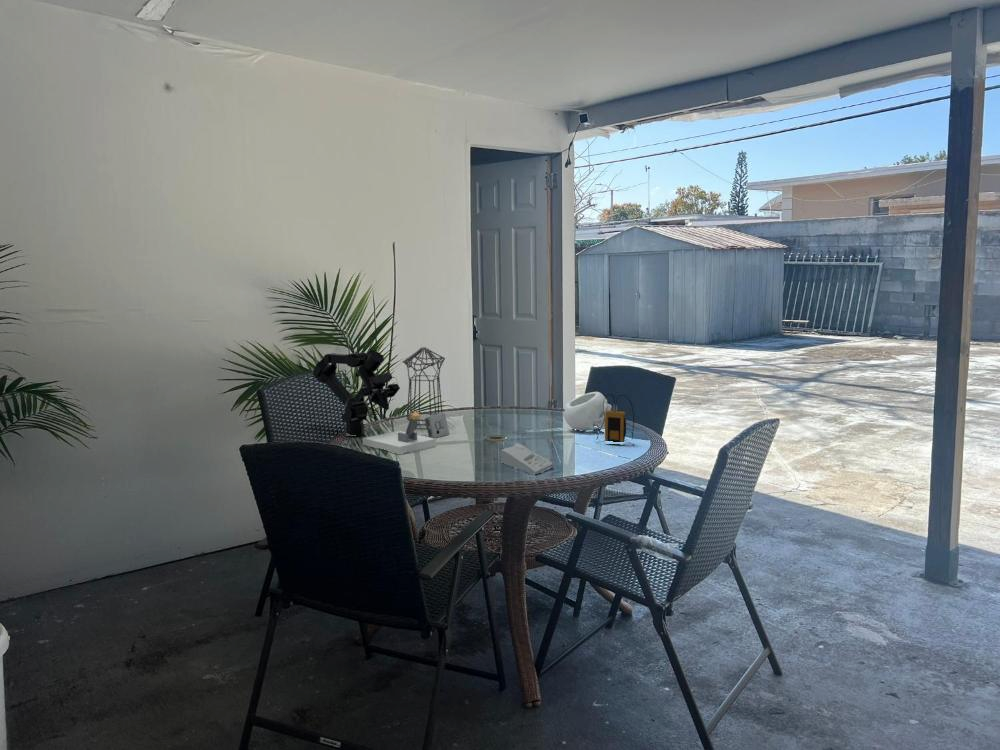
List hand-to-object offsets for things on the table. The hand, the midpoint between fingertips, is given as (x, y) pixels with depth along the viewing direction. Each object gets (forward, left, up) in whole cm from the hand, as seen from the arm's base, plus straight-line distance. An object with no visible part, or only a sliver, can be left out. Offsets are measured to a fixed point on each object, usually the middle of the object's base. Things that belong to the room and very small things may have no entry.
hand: (387, 409), depth 294 cm
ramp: (+59, -20, -14) cm, 64 cm away
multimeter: (+87, +21, -14) cm, 91 cm away
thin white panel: (+6, -3, -14) cm, 15 cm away
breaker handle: (+10, -6, -10) cm, 15 cm away
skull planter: (+74, +41, -14) cm, 86 cm away
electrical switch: (+14, +17, -14) cm, 26 cm away
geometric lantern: (+4, +31, -14) cm, 34 cm away
